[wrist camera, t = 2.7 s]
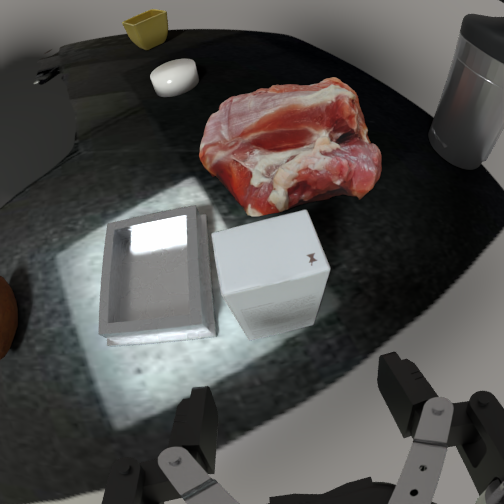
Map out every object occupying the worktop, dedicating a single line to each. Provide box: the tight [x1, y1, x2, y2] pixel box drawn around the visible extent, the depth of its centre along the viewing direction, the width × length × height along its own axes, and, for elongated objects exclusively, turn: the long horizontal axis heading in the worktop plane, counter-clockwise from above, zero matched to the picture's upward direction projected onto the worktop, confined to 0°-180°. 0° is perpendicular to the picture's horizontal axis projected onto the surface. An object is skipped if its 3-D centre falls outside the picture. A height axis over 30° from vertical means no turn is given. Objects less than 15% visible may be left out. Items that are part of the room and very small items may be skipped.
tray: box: [99, 205, 217, 347], centre depth 29 cm, size 11×13×3 cm
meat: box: [199, 77, 382, 216], centre depth 32 cm, size 21×21×10 cm
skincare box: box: [211, 210, 331, 341], centre depth 22 cm, size 6×4×12 cm
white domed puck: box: [150, 59, 199, 97], centre depth 46 cm, size 8×8×4 cm
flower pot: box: [122, 9, 168, 50], centre depth 56 cm, size 9×9×9 cm
